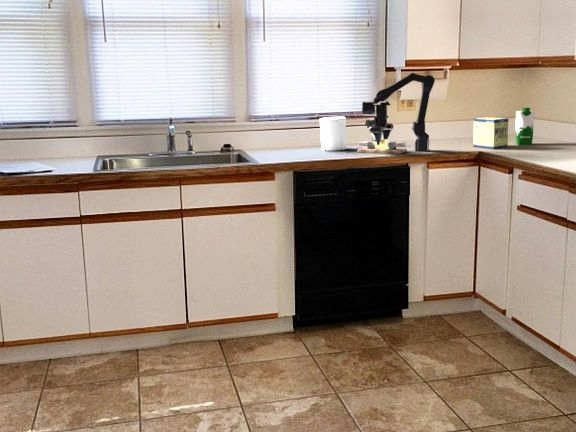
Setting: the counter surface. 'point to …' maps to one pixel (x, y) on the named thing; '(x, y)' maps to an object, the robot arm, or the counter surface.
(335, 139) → the utensil holder
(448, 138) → the counter surface
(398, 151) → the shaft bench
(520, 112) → the milk carton
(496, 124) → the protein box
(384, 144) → the block
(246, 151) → the counter surface
